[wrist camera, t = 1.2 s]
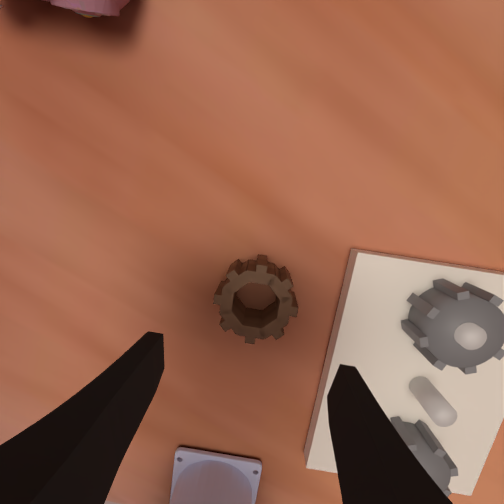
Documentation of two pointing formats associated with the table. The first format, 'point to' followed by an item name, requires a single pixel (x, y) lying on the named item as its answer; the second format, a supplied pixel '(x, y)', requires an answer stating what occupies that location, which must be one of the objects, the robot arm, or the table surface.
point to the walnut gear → (255, 320)
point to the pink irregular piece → (91, 6)
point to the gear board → (421, 360)
